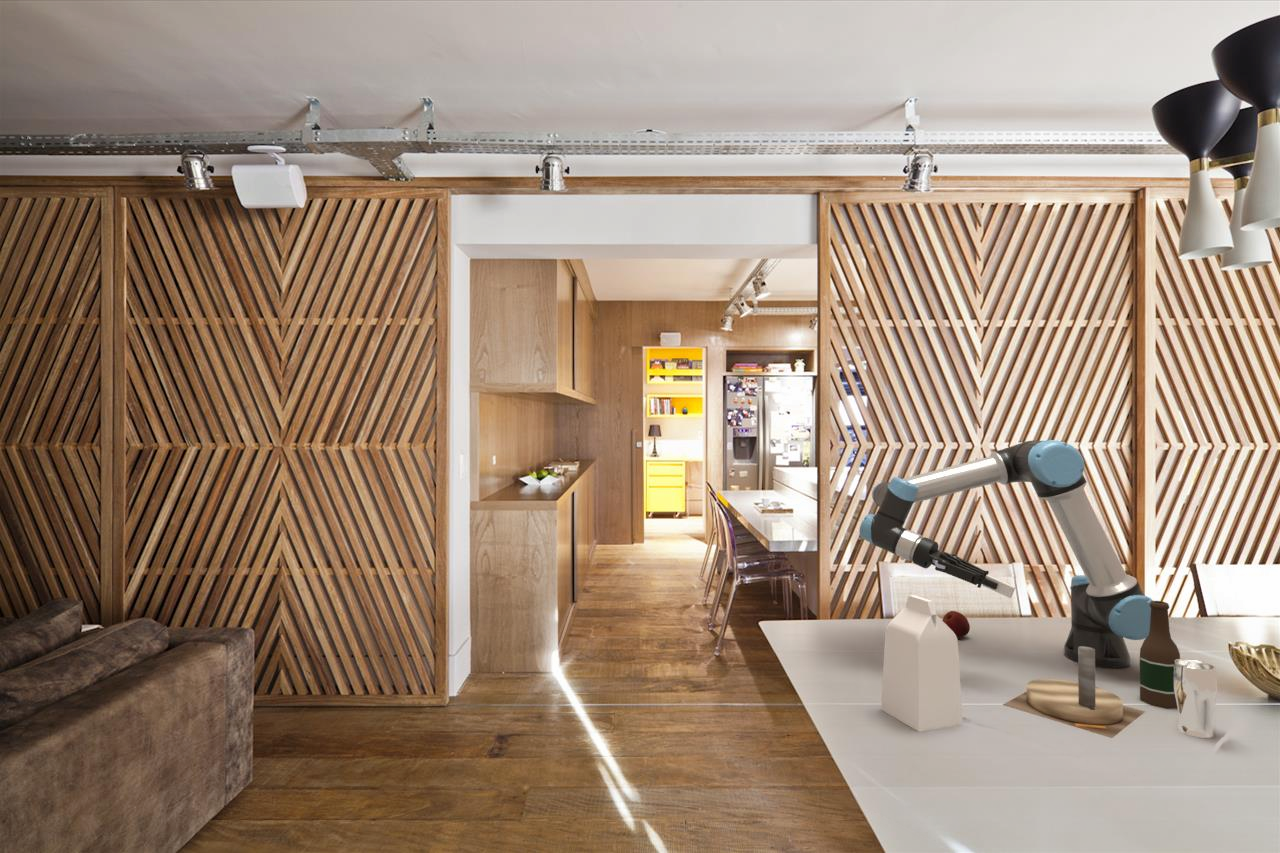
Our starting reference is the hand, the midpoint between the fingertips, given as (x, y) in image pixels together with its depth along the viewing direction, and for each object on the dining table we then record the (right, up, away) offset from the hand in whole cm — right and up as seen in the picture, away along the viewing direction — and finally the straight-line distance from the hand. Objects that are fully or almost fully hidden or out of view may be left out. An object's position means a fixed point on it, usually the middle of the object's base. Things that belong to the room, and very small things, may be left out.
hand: (1012, 592), depth 160 cm
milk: (-28, -24, -13) cm, 39 cm away
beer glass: (+24, -24, -23) cm, 42 cm away
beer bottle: (+29, -24, -8) cm, 39 cm away
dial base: (+7, -24, -11) cm, 28 cm away
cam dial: (+7, -23, -11) cm, 27 cm away
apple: (+8, -25, +45) cm, 52 cm away
